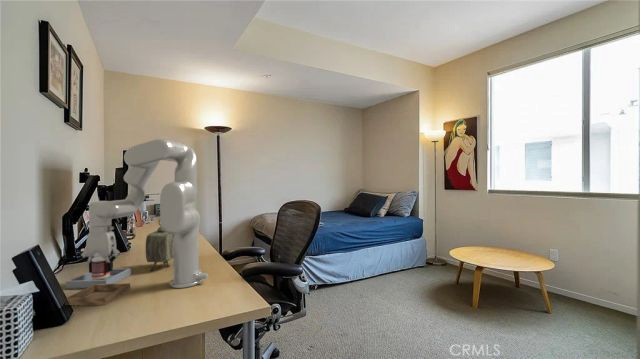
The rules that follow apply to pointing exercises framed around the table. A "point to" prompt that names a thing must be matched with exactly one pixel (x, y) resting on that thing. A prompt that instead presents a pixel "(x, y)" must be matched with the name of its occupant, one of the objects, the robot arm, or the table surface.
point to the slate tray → (87, 281)
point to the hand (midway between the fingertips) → (101, 271)
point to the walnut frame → (82, 300)
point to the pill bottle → (99, 267)
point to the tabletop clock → (159, 247)
